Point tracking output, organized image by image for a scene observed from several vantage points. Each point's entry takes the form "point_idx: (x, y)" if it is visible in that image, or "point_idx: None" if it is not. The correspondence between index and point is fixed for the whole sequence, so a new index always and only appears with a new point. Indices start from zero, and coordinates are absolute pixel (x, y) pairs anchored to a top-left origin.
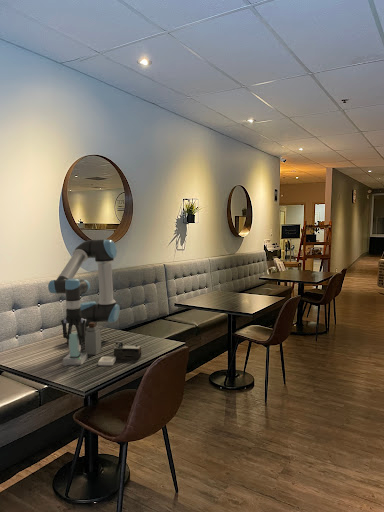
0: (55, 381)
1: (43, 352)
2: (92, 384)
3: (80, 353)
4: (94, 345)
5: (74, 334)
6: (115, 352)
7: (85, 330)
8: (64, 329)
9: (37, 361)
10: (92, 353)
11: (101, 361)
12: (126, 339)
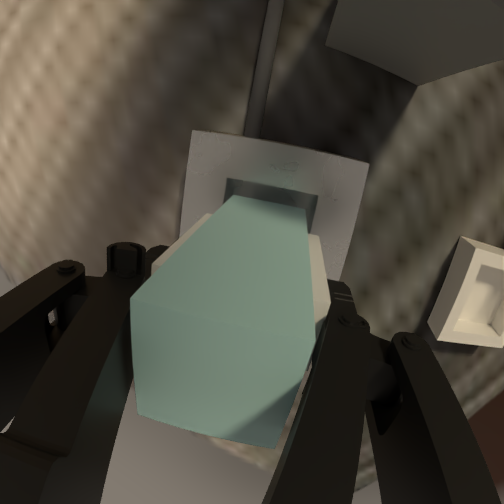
0: (218, 443)
1: (31, 8)
2: (365, 475)
3: (304, 161)
4: (440, 63)
5: (231, 436)
6: None
7: (466, 421)
8: (6, 414)
9: (29, 162)
10: (392, 68)
11: (454, 342)
12: None
